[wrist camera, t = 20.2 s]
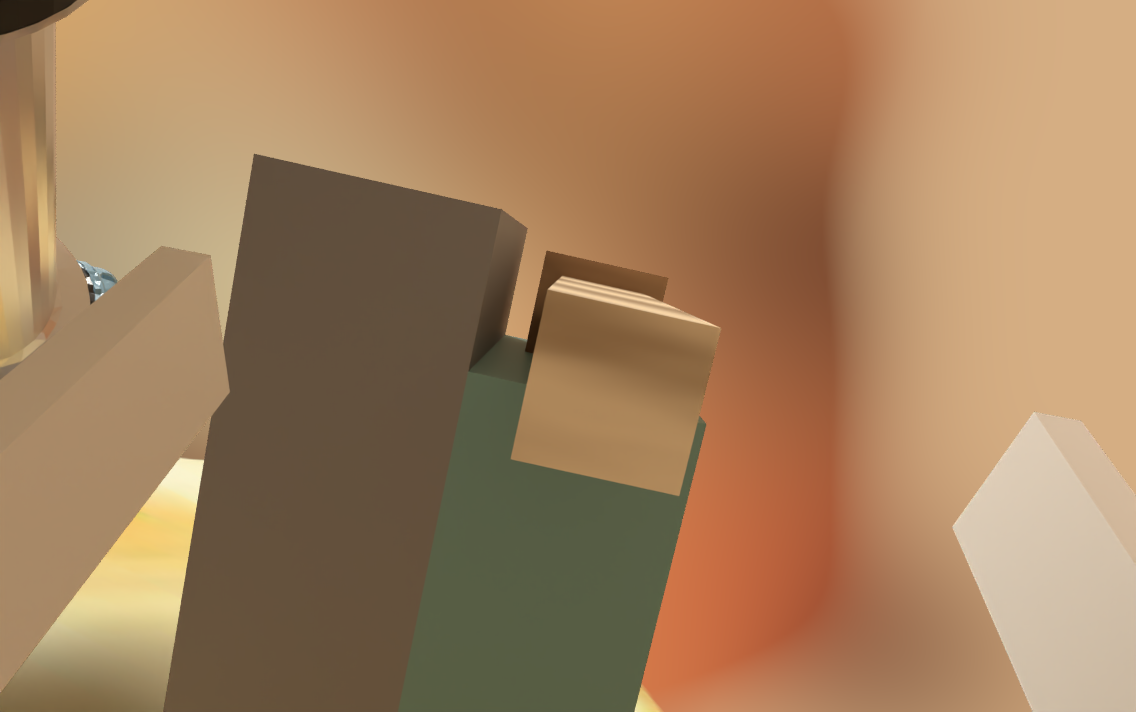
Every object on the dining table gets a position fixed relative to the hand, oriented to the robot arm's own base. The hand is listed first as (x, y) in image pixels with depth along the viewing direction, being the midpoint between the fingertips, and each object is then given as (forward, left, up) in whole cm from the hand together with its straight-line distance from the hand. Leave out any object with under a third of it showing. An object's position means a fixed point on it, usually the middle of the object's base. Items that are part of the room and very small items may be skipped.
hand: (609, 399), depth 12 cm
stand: (+7, +21, -27) cm, 35 cm away
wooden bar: (+8, +14, -3) cm, 16 cm away
